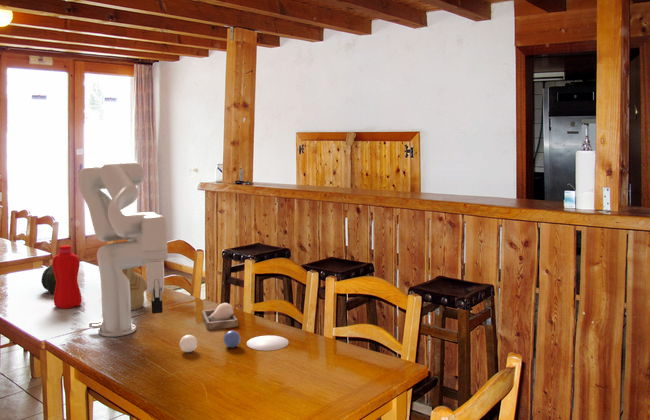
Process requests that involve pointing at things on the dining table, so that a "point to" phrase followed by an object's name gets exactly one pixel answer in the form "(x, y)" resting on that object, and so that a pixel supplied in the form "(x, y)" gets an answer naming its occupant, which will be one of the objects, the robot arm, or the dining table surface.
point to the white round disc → (267, 343)
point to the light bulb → (221, 313)
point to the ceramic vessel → (135, 288)
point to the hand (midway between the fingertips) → (157, 312)
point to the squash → (49, 280)
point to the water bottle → (66, 278)
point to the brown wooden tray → (218, 324)
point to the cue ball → (188, 343)
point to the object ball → (231, 339)
